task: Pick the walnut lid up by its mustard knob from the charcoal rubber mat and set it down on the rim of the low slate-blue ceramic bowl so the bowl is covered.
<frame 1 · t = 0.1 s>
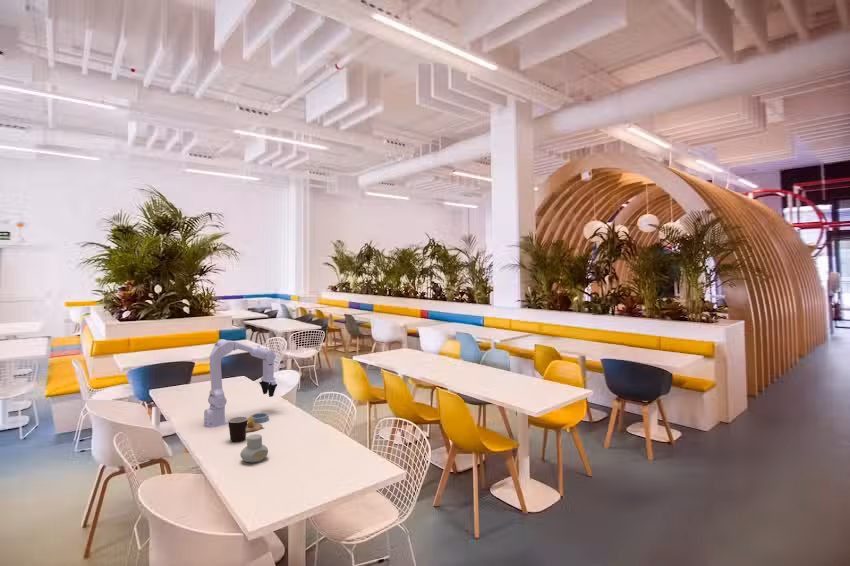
hand: (268, 395, 250), 10 cm above the table, tool pointing down, fingers open, 7 cm apart
coffee mug: (240, 439, 210), on the table
air freshener: (254, 460, 187), on the table
bowl: (259, 421, 236), on the table
mat: (250, 429, 224), on the table
lid: (250, 428, 224), resting on mat
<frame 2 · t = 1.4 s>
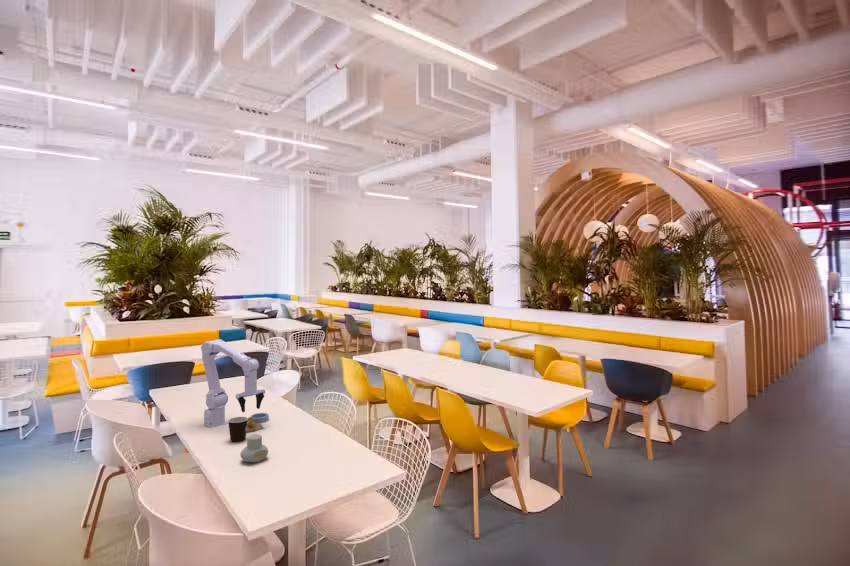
hand: (250, 410, 223), 10 cm above the table, tool pointing down, fingers open, 7 cm apart
nothing on the table moved.
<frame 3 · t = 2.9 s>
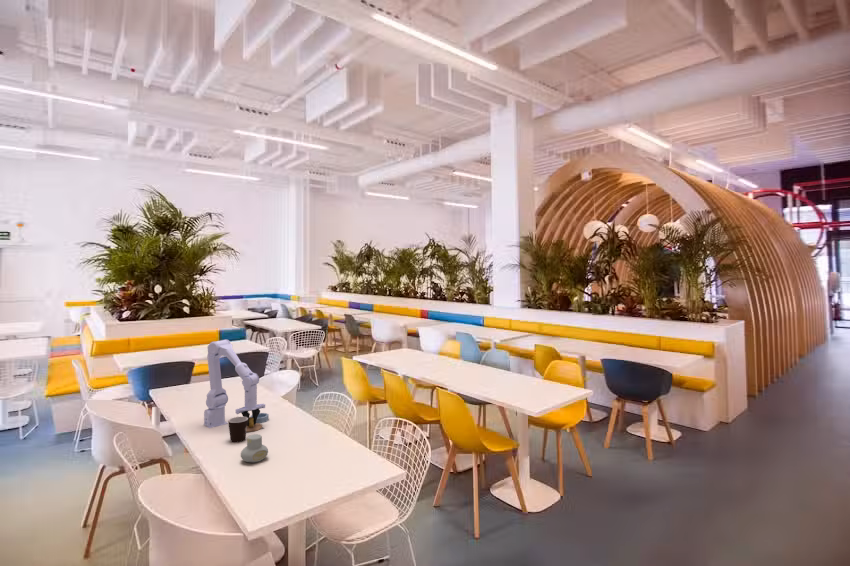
hand: (250, 424, 224), 2 cm above the table, tool pointing down, fingers closed on lid, 3 cm apart
lid: (250, 428, 224), resting on mat, touching gripper
everything else where it was.
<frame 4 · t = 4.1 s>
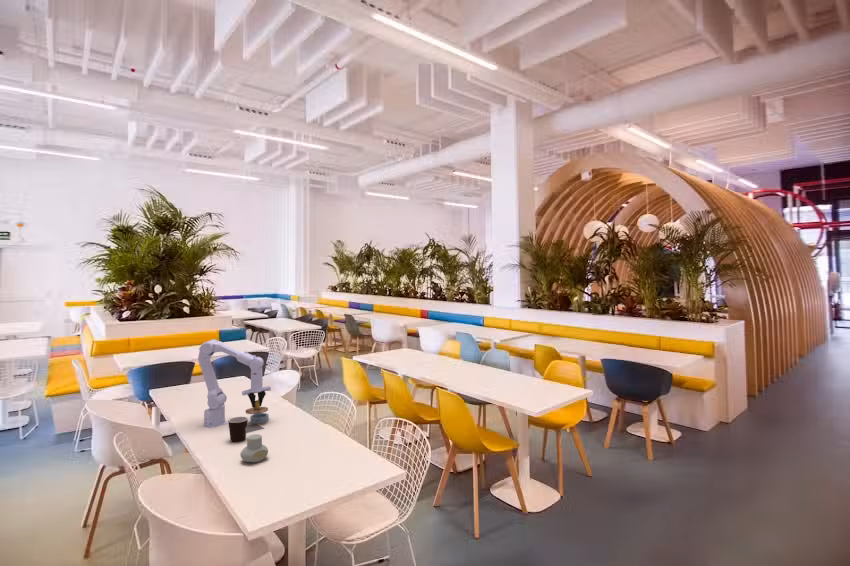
hand: (256, 406, 231), 9 cm above the table, tool pointing down, fingers closed on lid, 3 cm apart
lid: (256, 411, 231), point 7 cm above the table, touching gripper
everything else where it was.
when the fingers open (6 cm above the table, at t = 5.2 s): lid stays where it is, resting on bowl.
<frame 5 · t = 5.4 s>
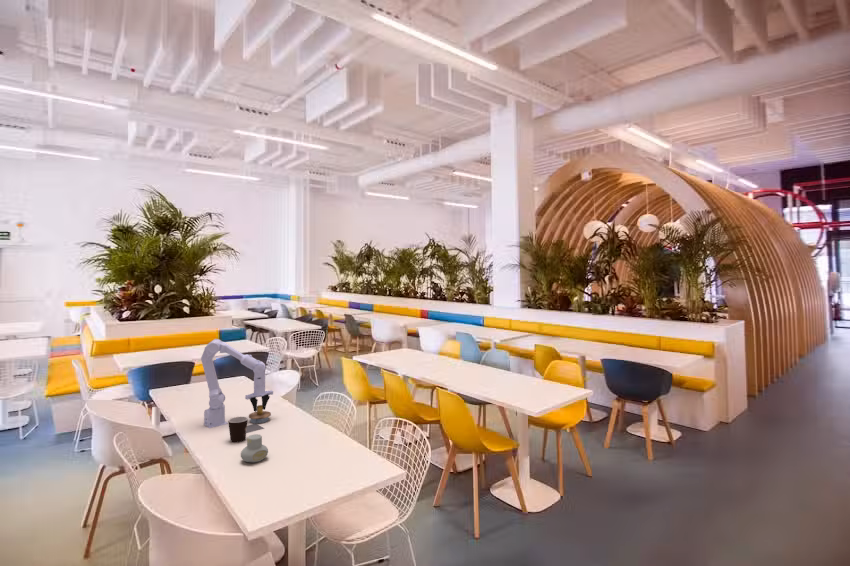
hand: (259, 410, 236), 6 cm above the table, tool pointing down, fingers open, 4 cm apart
lid: (259, 415, 235), point 3 cm above the table, touching bowl
everything else where it was.
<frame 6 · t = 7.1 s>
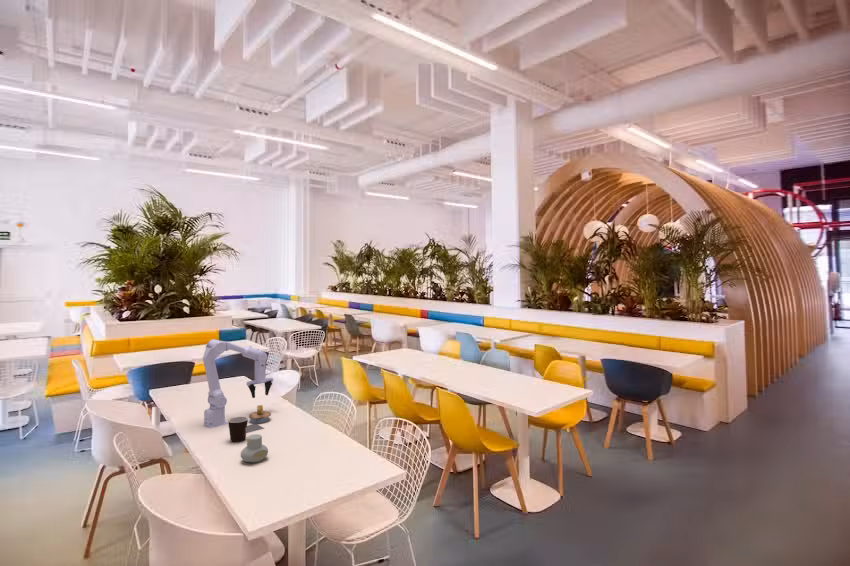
hand: (260, 396, 248), 10 cm above the table, tool pointing down, fingers open, 7 cm apart
nothing on the table moved.
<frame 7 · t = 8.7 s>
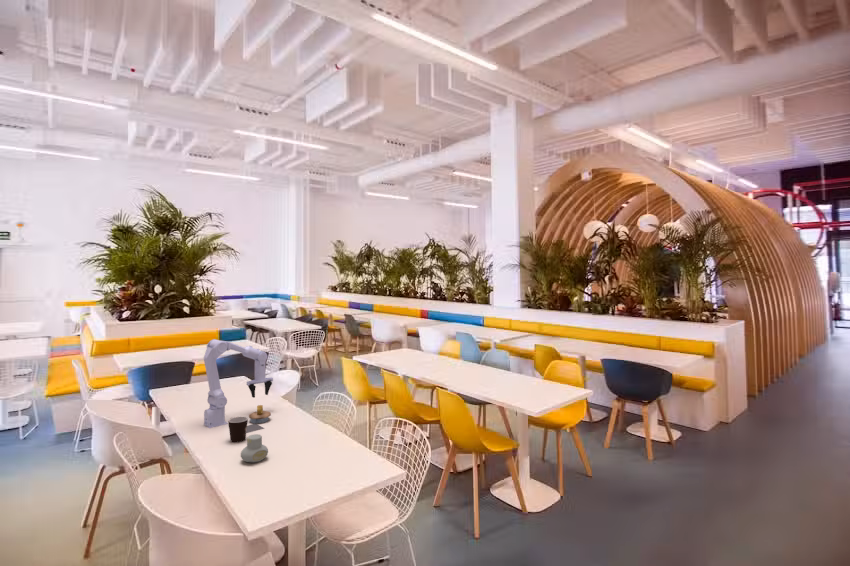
hand: (260, 395, 249), 10 cm above the table, tool pointing down, fingers open, 7 cm apart
nothing on the table moved.
at the end: lid 0.4 cm off-centre on the bowl, point 3.0 cm above the bowl's base; lid tilted 0°; the gripper is holding nothing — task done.
